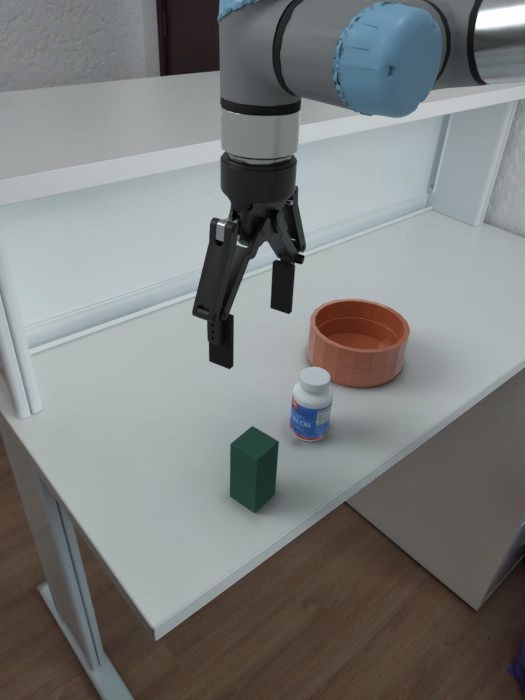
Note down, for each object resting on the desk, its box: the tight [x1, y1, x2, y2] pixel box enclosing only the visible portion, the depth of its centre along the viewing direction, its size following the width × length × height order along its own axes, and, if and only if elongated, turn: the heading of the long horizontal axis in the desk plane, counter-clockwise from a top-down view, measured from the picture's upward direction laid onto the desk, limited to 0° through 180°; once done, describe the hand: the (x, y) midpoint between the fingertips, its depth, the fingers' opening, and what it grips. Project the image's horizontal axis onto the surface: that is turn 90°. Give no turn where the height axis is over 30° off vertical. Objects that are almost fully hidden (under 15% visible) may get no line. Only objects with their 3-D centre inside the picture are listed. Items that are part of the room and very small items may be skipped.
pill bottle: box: [289, 366, 334, 443], centre depth 78 cm, size 6×5×10 cm
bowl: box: [306, 298, 411, 389], centre depth 94 cm, size 16×16×7 cm
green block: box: [229, 425, 280, 514], centre depth 69 cm, size 4×4×9 cm
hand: (253, 335), depth 68 cm, fingers open, 13 cm apart
